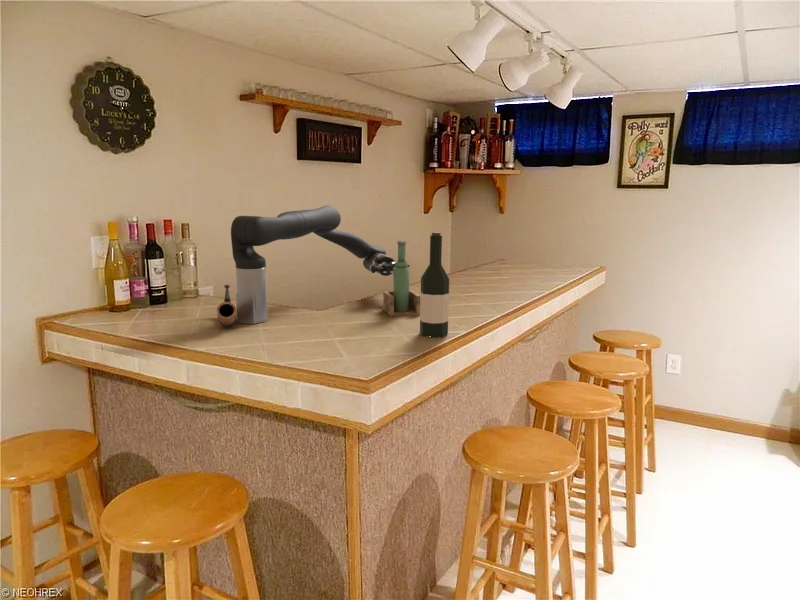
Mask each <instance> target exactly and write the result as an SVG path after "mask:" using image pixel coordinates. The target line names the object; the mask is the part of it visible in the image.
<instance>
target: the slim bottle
mask: <svg viewBox="0 0 800 600" xmlns="http://www.w3.org/2000/svg"><path fill="white" fill-rule="evenodd" d="M396 243H397V260H396V261H395V263H396V267H393V273H392V276H393V277H392V291H393V296H394V312H408V311H409V291H410V286H411V285H410V284H411V283H410V281H411V279H410V278H411V277H410V276H411V275H410V274H411V273H410V270H411V267H410V266H409V267H407V264H408V261H406V254H407V253H406V251H407V250H406V247H407V246H406V245H407V240H397V242H396Z"/></svg>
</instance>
